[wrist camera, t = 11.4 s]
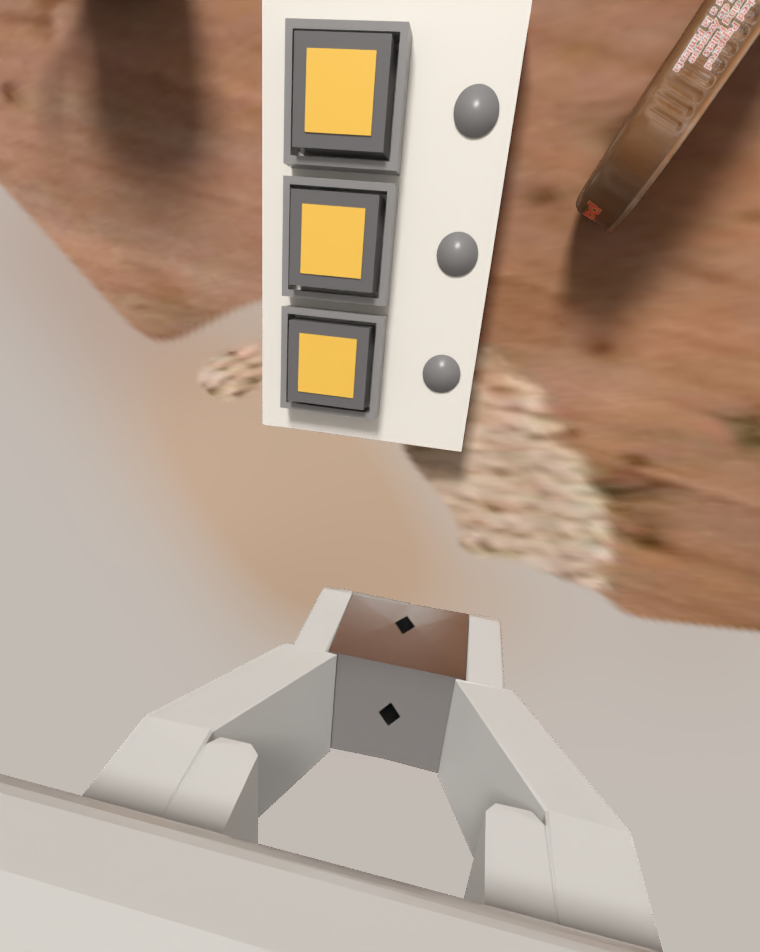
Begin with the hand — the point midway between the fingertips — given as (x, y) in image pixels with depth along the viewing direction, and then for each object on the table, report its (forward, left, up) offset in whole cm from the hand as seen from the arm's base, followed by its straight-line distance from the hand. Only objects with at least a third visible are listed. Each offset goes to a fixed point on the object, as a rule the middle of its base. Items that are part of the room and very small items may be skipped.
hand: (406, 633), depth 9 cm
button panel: (+6, -7, -28) cm, 30 cm away
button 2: (+8, 0, -25) cm, 27 cm away
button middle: (+8, -7, -25) cm, 27 cm away
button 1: (+8, -14, -25) cm, 30 cm away
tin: (-9, -16, -29) cm, 34 cm away
